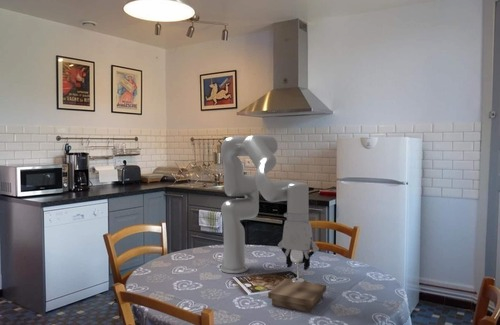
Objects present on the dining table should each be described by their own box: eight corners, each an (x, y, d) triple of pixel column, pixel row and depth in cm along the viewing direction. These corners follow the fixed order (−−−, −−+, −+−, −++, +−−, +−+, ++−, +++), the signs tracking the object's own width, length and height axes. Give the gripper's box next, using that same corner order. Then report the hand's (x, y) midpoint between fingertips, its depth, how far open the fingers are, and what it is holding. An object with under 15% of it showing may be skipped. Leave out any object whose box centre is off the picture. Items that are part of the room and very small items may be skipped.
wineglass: (288, 277, 142) (288, 245, 141) (304, 277, 142) (303, 244, 142) (291, 283, 136) (291, 249, 136) (307, 282, 137) (307, 248, 136)
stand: (268, 305, 136) (268, 292, 136) (285, 289, 150) (285, 278, 150) (312, 314, 129) (312, 300, 129) (326, 297, 143) (326, 285, 143)
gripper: (271, 217, 139) (271, 267, 140) (318, 221, 131) (318, 274, 132) (279, 213, 146) (279, 261, 146) (324, 217, 138) (324, 268, 138)
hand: (297, 267), depth 139 cm, fingers closed on wineglass, 5 cm apart
